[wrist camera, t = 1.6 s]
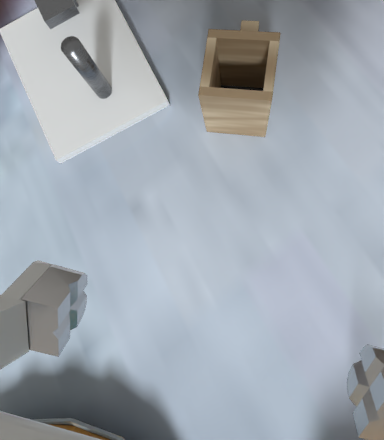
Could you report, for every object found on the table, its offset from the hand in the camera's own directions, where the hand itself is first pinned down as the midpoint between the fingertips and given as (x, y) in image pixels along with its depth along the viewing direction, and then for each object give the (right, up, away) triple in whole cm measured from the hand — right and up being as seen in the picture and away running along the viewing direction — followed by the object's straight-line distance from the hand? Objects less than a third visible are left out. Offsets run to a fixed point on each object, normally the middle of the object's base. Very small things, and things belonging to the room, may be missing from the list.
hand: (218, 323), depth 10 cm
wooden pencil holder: (+4, +16, +24) cm, 29 cm away
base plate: (-12, +18, +26) cm, 34 cm away
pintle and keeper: (-11, +20, +26) cm, 35 cm away
